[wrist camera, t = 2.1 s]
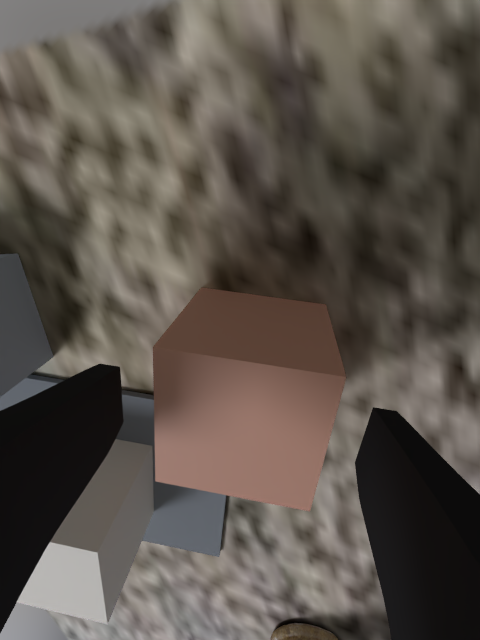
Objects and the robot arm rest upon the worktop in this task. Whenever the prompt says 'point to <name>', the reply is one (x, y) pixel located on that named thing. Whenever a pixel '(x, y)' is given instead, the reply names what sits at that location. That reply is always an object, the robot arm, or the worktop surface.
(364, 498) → the robot arm
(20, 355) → the slate brick
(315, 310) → the terracotta brick
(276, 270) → the worktop surface
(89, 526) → the cream brick
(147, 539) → the mat
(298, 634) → the sprinkles bottle
